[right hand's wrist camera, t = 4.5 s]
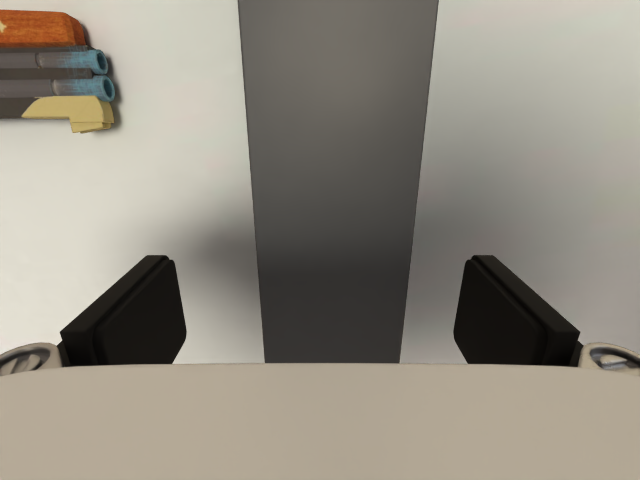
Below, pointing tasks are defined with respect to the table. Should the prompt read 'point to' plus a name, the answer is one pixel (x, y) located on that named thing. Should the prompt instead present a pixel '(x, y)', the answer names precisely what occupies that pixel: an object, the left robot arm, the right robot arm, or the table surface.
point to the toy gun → (52, 71)
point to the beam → (335, 169)
